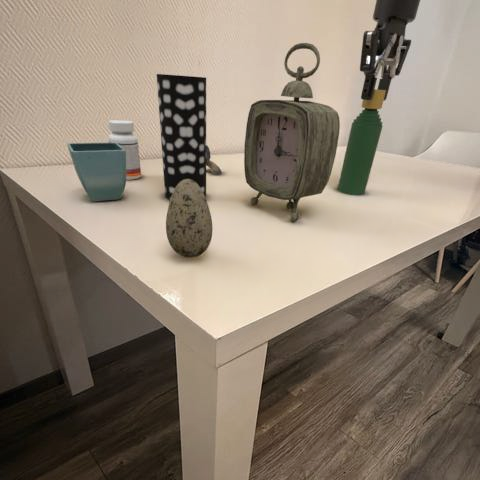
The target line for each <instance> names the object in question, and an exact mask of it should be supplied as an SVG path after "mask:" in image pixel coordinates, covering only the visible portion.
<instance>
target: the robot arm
mask: <svg viewBox="0 0 480 480" xmlns="http://www.w3.org/2000/svg"><path fill="white" fill-rule="evenodd" d="M420 3H421V0H376V1H375V4H374V9H373V14H372V20H373V21H374V22H375V23H376V25H375V27H374V30H365V31H364V32H363V36H362V45H361V55H360V62H359V63H360V65H359V71H360V72H363V77H364V82H363V87H362V90H361V96H360V99H361V100H362V101H363V100H371V99H372V97H373V93H374V89H376V84H377V81H378V75H379V73H380V71H381V73H380V78H379V82H378V85H377V89H376V90H386V92H385V97H384V101H383V102H385V101H386V100H387V98H388V93H389V90H390V86H391V83H392V80H393V79H395V77H396V76H399V75H400V74H401V73H402V68H403V66H404V63H405V61H406V58H407V56H408V53H409V50H410V48H411V45H412V39H406V28H407V25H408V24H410V23H412V22H414V21H415V20H416V17H417V14H418V10H419V7H420Z"/></svg>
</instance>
